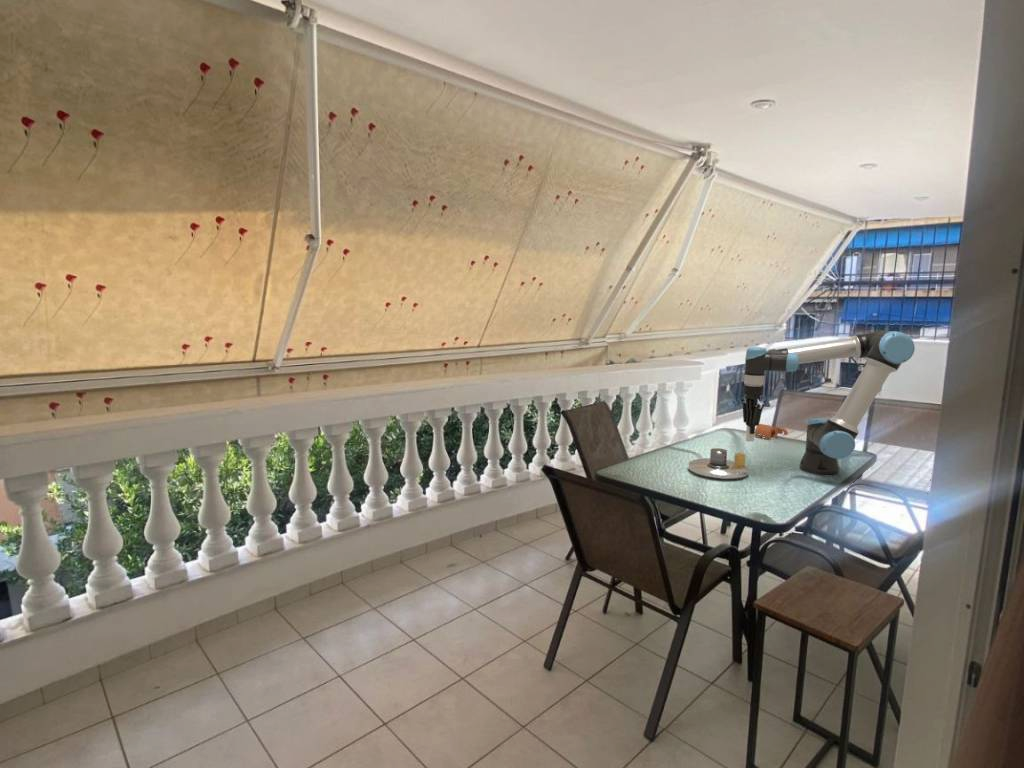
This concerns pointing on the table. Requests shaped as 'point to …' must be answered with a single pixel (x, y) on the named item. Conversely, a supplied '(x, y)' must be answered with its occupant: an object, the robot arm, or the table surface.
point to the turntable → (731, 472)
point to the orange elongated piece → (769, 431)
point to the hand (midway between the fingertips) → (749, 440)
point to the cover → (718, 458)
